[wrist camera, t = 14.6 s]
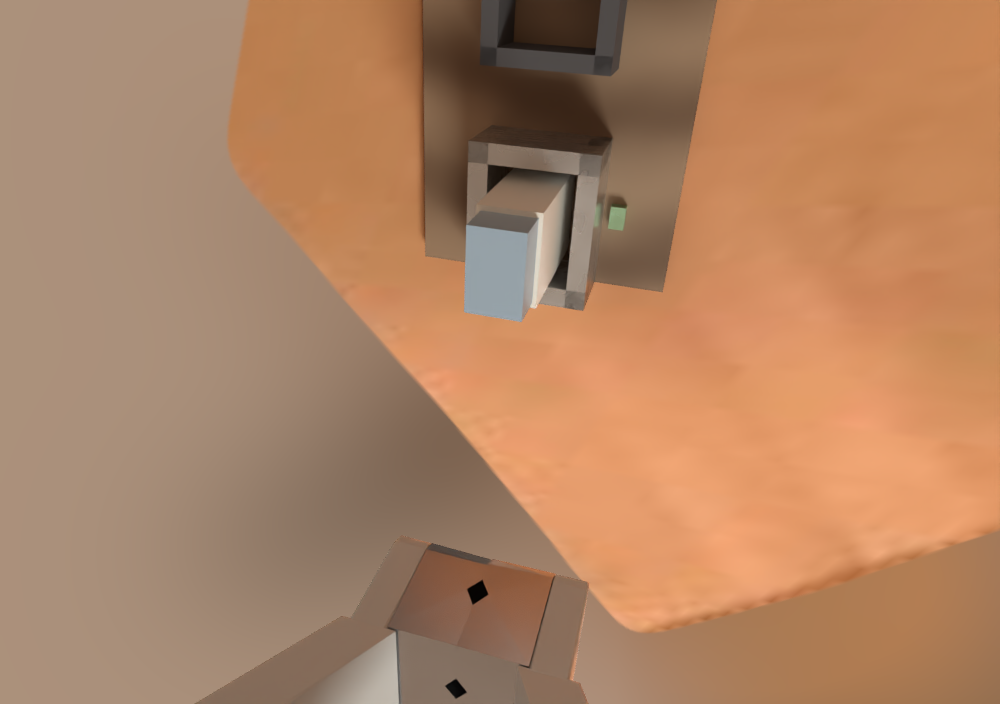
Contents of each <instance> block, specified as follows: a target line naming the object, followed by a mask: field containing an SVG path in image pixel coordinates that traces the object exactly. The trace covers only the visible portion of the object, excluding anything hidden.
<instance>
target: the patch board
mask: <svg viewBox="0 0 1000 704" xmlns="http://www.w3.org/2000/svg"><path fill="white" fill-rule="evenodd" d="M481 2H482V0H423V65H424V161H425V256H428V257H435V258H441V259H448V260H454V261H461V262H465V258H466V225H467V182H468V141H469V140H470V139H472V138H473V137H475V136H476V135H478V134H479V133H481V132H482V131H484V130H485V129H487V128H488V127H490V126H491V125H496V126H505V127H515V128H524V129H533V130H543V131H552V132H562V133H571V134H581V135H590V136H599V137H609V138H613V142H612V150H611V158H610V166H609V173H608V181H607V189H606V197H605V205H604V212H603V220H602V228H601V236H600V244H599V252H598V259H597V267H596V275H595V282H599V283H606V284H612V285H619V286H625V287H632V288H638V289H645V290H652V291H658V292H663V287H664V282H665V277H666V271H667V266H668V260H669V255H670V250H671V244H672V239H673V234H674V228H675V223H676V217H677V212H678V207H679V201H680V196H681V190H682V185H683V180H684V174H685V169H686V163H687V158H688V153H689V147H690V142H691V136H692V131H693V126H694V120H695V115H696V109H697V104H698V99H699V93H700V88H701V83H702V77H703V72H704V66H705V61H706V56H707V50H708V45H709V39H710V34H711V29H712V23H713V18H714V12H715V7H716V2H717V0H627V7H626V15H625V23H624V31H623V39H622V47H621V55H620V63H619V69H618V70H617V71H616V72H615V73H614V74H613V75H612V76H600V75H589V74H577V73H566V72H554V71H543V70H531V69H520V68H508V67H497V66H485V65H480V37H481ZM600 5H601V0H516V4H515V24H514V42H519V43H532V44H544V45H557V46H570V47H583V48H595V49H596V42H597V33H598V24H599V15H600ZM513 168H515V167H508V173H509V172H510V171H511V170H512V169H513ZM577 181H578V175H575V185H574V194H573V204H572V214H571V223H570V233H569V242H568V249H567V251H566V253H565V255H564V257H563V259H562V260H569V257H570V247H571V238H572V228H573V219H574V209H575V200H576V190H577ZM612 204H620V205H627V212H626V218H625V225H624V229H623V231H621V230H614V229H608V224H609V217H610V209H611V205H612Z"/></svg>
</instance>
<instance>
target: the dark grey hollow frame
mask: <svg viewBox="0 0 1000 704" xmlns="http://www.w3.org/2000/svg"><path fill="white" fill-rule="evenodd" d="M515 4H516V0H482V2H481V37H480V65H485V66H497V67H508V68H520V69H531V70H543V71H554V72H566V73H577V74H589V75H600V76H612V75H613V74H614V73H615V72H616V71H617V70H618V69H619V63H620V55H621V47H622V39H623V31H624V23H625V15H626V7H627V0H601V5H600V15H599V24H598V33H597V42H596V49H595V48H583V47H570V46H557V45H544V44H532V43H519V42H514V24H515Z"/></svg>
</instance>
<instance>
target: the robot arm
mask: <svg viewBox="0 0 1000 704" xmlns="http://www.w3.org/2000/svg"><path fill="white" fill-rule="evenodd" d="M588 589H589V583H588V582H585V581H581V580H577V579H573V578H569V577H564V576H561V575H557V574H556V576H555V574H554V573H550V572H545V571H541V570H537V569H533V568H529V567H524V566H520V565H516V564H512V563H507V562H503V561H499V560H495V559H492V560H490V559H487V558H483V557H480V556H476V555H472V554H469V553H465V552H462V551H458V550H454V549H451V548H447V547H444V546H440V545H436V544H433V543H428V542H424V541H420V540H417V539H413V538H409V537H406V536H401V537H400V538H398V539H397V541H395V542H394V543H393V545H392V547H391V549H390V550H389V552H388V554H387V556H386V557H385V559H384V561H383V563H382V564H381V566H380V568H379V570H378V571H377V573H376V575H375V577H374V579H373V580H372V582H371V584H370V585H369V587H368V589H367V591H366V593H365V595H364V596H363V598H362V600H361V601H360V603H359V605H358V606H357V608H356V610H355V612H354V614H353V615H352V617H351V618H348V617H344V616H341V617H339V618H337V619H336V620H334V621H332V622H331V623H329V624H328V625H326V626H324V627H322V628H321V629H319V630H317V631H316V632H314V633H312V634H311V635H309V636H307V637H306V638H304V639H302V640H301V641H299V642H297V643H296V644H294V645H292V646H291V647H289V648H287V649H286V650H284V651H282V652H281V653H279V654H277V655H275V656H274V657H273V658H270V659H269V660H267V661H265V662H264V663H262V664H261V665H259V666H257V667H255V668H254V669H252V670H250V671H249V672H247V673H245V674H244V675H242V676H240V677H239V678H237V679H235V680H234V681H232V682H230V683H229V684H227V685H225V686H224V687H222V688H220V689H218V690H217V691H215V692H213V693H212V694H210V695H209V696H207V697H205V698H204V699H202V700H200V701H199V702H197V703H195V704H588V702H587V699H586V697H585V694H584V692H583V689H582V687H581V684H580V683H578V682H575V681H573V677H574V672H575V667H576V661H577V654H578V649H579V643H580V637H581V631H582V625H583V619H584V613H585V607H586V600H587V595H588Z"/></svg>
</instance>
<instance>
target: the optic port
mask: <svg viewBox="0 0 1000 704" xmlns="http://www.w3.org/2000/svg"><path fill="white" fill-rule="evenodd" d="M612 142H613V138H609V137H599V136H590V135H581V134H571V133H562V132H552V131H543V130H533V129H524V128H515V127H505V126H496V125H491V126H490V127H488V128H487V129H485V130H484V131H482V132H481V133H479V134H478V135H476V136H475V137H473V138H472V139H470V140H469V141H468V182H467V224H468V223H469V222H470V221H471V220H472V219H473V218H474V217H475V216H476V204H477V203H478V202H479V201H480V200H481V199H482V198H483V197H484V196H485V195H486V194H488V193H489V192H490V191H491V190H492V189H493V188H494V187H495V186H496V185H497V184H498V183H499V182H500V181H501V180H502V179H503V178H504V177H505V176H506V175H507V174H508V167H515V168H523V169H531V170H540V171H548V172H557V173H565V174H573V175H578V181H577V190H576V200H575V209H574V219H573V228H572V238H571V247H570V257H569V260H562V261H561V262H560V264H559V266H558V268H557V270H556V272H555V274H554V276H553V277H552V279H551V281H550V283H549V285H548V287H547V289H546V291H545V293H544V294H543V296H542V298H541V300H540V302H539V304H544V305H551V306H557V307H563V308H569V309H575V310H582V311H583V310H584V307H585V305H586V302H587V300H588V297H589V295H590V292H591V289H592V287H593V284H594V282H595V275H596V267H597V259H598V252H599V244H600V236H601V228H602V220H603V212H604V205H605V197H606V189H607V181H608V173H609V166H610V158H611V150H612ZM626 212H627V205H620V204H612V205H611V209H610V217H609V224H608V229H614V230H621V231H623V229H624V225H625V218H626Z"/></svg>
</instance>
